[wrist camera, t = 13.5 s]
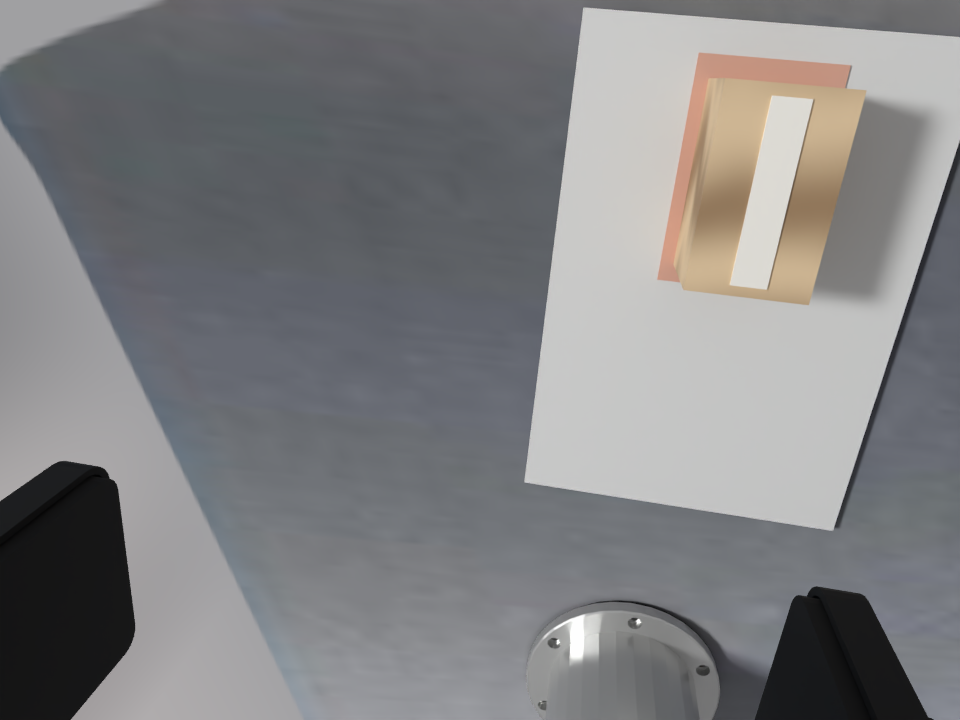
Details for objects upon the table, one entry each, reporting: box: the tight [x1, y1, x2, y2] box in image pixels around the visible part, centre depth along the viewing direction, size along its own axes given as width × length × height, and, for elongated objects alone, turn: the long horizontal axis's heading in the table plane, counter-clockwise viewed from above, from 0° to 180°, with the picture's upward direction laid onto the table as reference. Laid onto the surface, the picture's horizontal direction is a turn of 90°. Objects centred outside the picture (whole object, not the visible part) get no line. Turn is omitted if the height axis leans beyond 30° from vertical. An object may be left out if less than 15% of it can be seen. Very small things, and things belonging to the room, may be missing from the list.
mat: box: [525, 8, 960, 531], centre depth 37 cm, size 26×18×1 cm
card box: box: [673, 78, 867, 305], centre depth 33 cm, size 9×6×5 cm, turn 175°
